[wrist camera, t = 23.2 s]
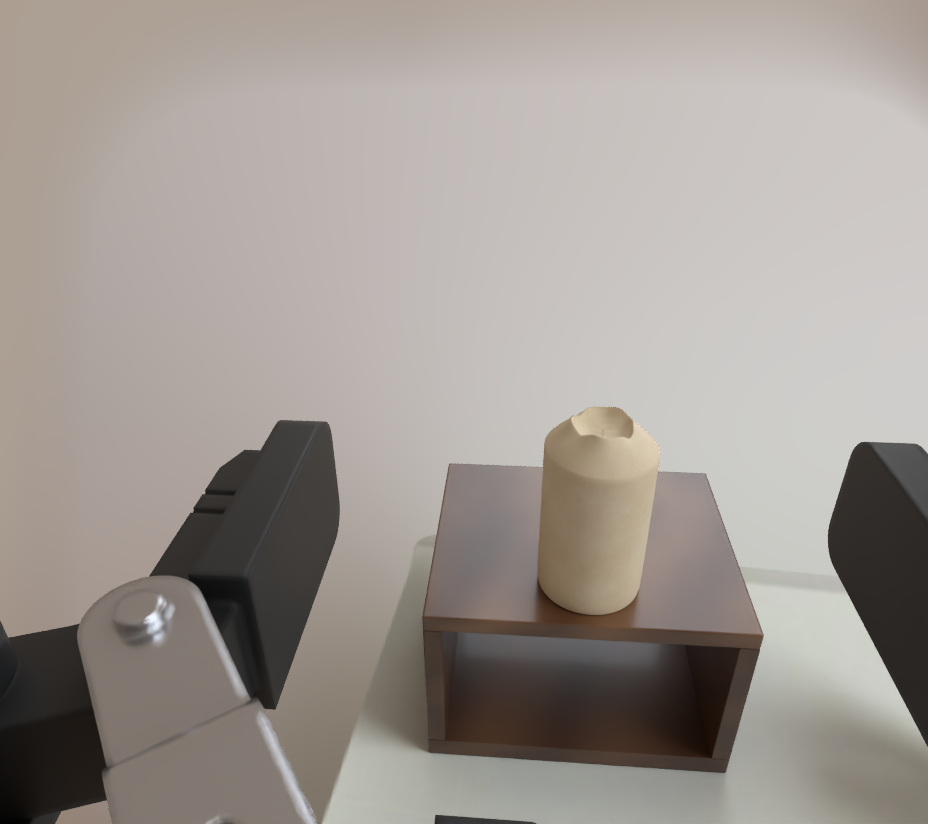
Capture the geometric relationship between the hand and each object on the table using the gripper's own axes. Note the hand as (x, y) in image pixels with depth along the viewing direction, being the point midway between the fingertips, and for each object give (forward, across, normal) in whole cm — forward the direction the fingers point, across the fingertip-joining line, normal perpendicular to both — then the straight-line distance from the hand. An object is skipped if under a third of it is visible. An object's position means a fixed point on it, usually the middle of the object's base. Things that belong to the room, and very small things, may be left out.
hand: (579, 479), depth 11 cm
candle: (+20, -3, +21) cm, 30 cm away
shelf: (+24, -3, +32) cm, 40 cm away
